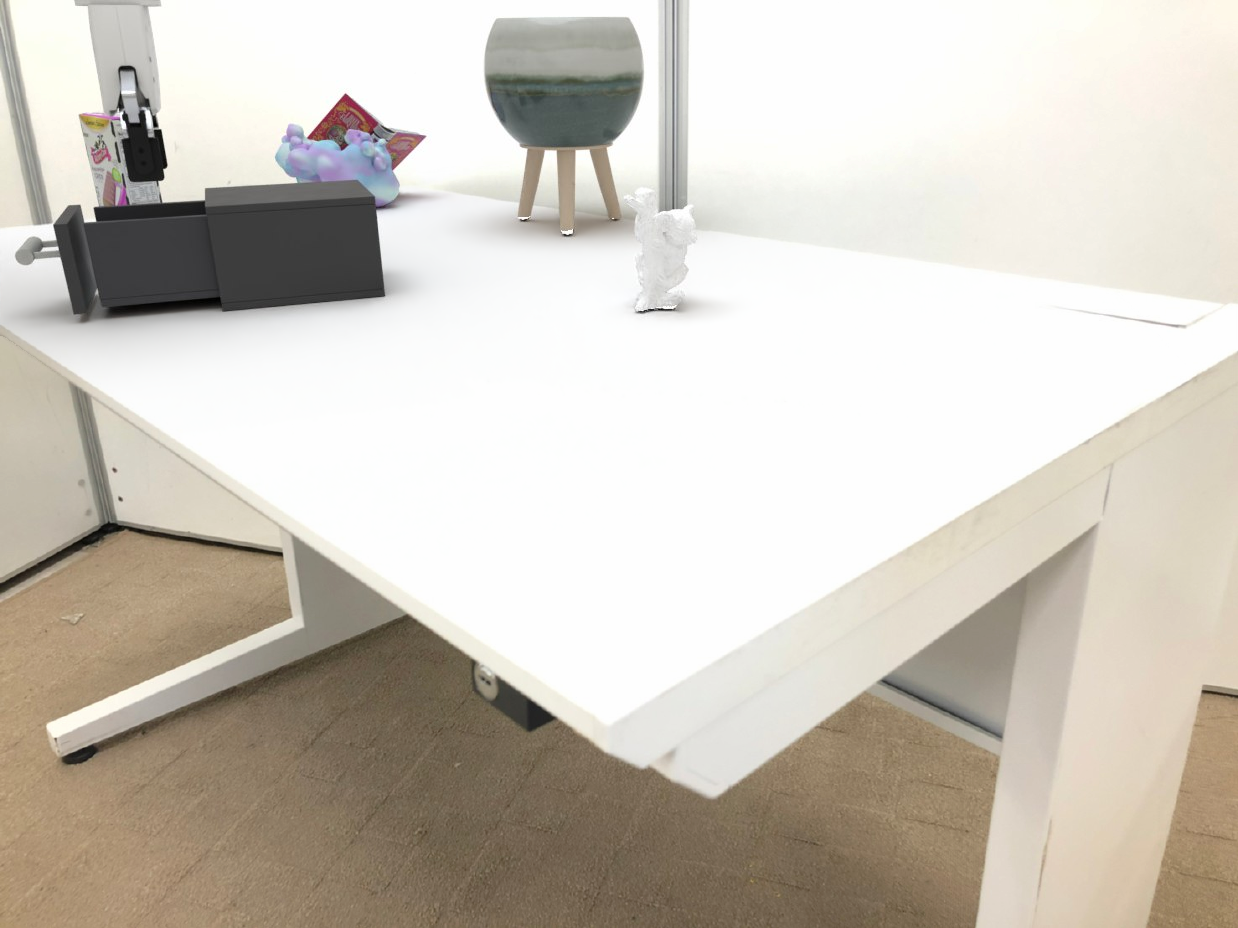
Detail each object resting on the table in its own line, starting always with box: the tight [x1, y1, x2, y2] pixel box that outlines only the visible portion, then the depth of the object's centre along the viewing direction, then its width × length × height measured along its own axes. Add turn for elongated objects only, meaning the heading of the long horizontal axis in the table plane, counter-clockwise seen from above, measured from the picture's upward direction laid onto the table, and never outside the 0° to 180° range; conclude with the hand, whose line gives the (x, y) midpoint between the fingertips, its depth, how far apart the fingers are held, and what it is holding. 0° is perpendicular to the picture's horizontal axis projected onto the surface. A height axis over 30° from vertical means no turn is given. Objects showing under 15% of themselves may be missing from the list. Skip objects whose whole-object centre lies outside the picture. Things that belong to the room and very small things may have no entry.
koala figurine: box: [622, 186, 698, 312], centre depth 101 cm, size 8×7×12 cm
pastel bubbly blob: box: [274, 92, 427, 208], centre depth 163 cm, size 20×22×18 cm
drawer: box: [14, 199, 220, 316], centre depth 104 cm, size 20×12×9 cm, turn 111°
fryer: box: [204, 180, 386, 312], centre depth 109 cm, size 17×14×11 cm
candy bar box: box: [78, 111, 163, 206], centre depth 137 cm, size 11×5×16 cm, turn 46°
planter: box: [483, 16, 645, 231], centre depth 141 cm, size 22×22×28 cm
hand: (149, 174), depth 102 cm, fingers open, 9 cm apart
